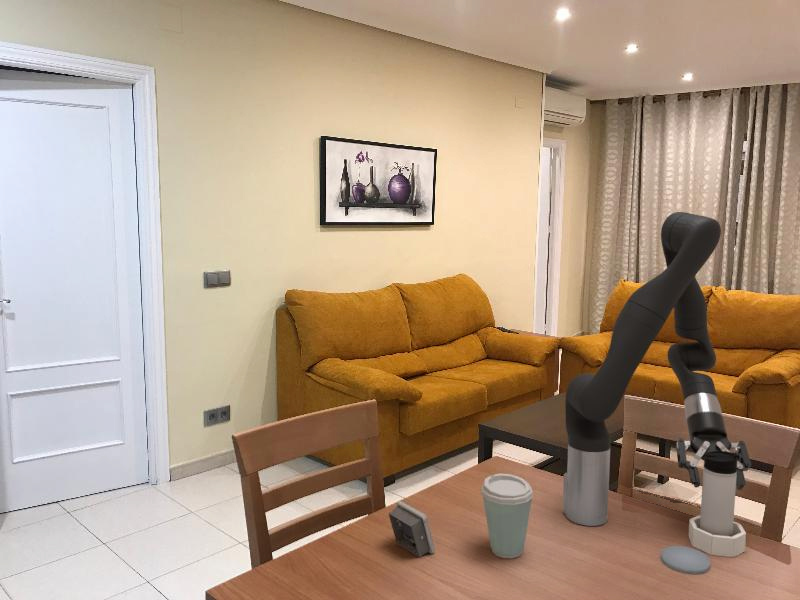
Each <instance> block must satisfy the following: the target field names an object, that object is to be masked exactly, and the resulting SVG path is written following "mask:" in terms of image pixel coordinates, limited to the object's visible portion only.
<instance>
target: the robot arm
mask: <svg viewBox="0 0 800 600" xmlns="http://www.w3.org/2000/svg"><path fill="white" fill-rule="evenodd" d="M721 228H722V227H721V224H720V223H719V222H718V220H716V219H715V218H712V217H708V216H705V215H701V214H695V213H691V212H685V211H676V212H673V213H671V214H669V215H668V216H667V217H666V218H665V220H664V221H663V224H662V225H661V230H660V241H661V247H662V252H663V255H664V260H665V264H666V265H665V266H666V268H665V269H664V270H663V271H662V272H660V273H659V274H658V275H657V276H655V277H653V278H652V279H650V280H649V281H647V282H645V284H643V285H642V286H640V287H638V288H637V289H636V290H634V292H632V293H631V295H630V296H629V298H628V299H627V300H626V302H625V304H624V306H623V307H622V308H621V311H620V312H619V314H618V315H617V318H616V319H615V323H614V325H613V329H612V332H611V338H610V344H609V348H608V351H607V353H606V354H607V355H606V357H605V359H604V361H603V362H602V364H601V365H600V367H599V369H598V370H597V372H596V373H595V375H594V374H592V373H587V372H586V373H580V374H577V375H576V376H574V377H573V378H572V379H571V380H570V382H569V383H568V385H567V387H566V391H565V428H566V432H567V433H566V434H567V437H568V438H567V439H568V441H567V465H566V466H567V468H566V469H567V470H566V472H565V473H564V474H563V484H562V485H563V489H562V490H563V491H562V513H563V514H565V516H566V517H567V520H569V521H571V522H572V523H575V524H578V525H583V526H587V527H596V526H602V525H604V524H606V523H607V522H608V509H609V508H608V507H609V492H610V491H609V490H610V489H609V487H610V486H609V485H610V462H611V459H610V458H611V435H610V433H609V430H608V428H607V425H606V420H608V419H609V418H610V417H612V415H613V414H614V413H615V411H616V409H618V406H619V404H620V403H621V401H622V399H623V396H624V394H625V392H626V390H627V388H628V385H630V384H629V383H630V381H631V379H632V378H633V375H634V374H635V372H636V370H637V369H638V367H639V365H640V363H642V360H643V359H644V357H645V355H646V353H647V352H648V350H649V349H650V347H651V345H652V344H653V343H654V341H655V339H656V338H657V336H658V335H659V333H660V332H661V330H662V329H663V327H664V325H665V323H666V321H667V320H668V318H669V316H670V314H671V313H672V311H673V317H674V318H673V319H674V321H673V322H674V332H675V334H676V335H677V336H678V337H679V338H682V339H685V340H692V341H690V342H689V341H688V342H675V343H673V344H671V345H670V347H669V348H668V350H667V356H666V358H667V362H668V364H669V366H670V368H671V370H672V371H673V373H674V374H675V376H676V378H677V380H678V382H679V385H680V389H681V392H682V396H683V403H684V413H685V415H684V417H685V420H686V424H687V425H686V426H687V428H688V429H687V430H688V434H689V439H690V440H685V439H683V438H682V437H678V440H677V441H676V444H675V447H676V457H677V459H676V460H677V465H678V467H679V468H680V469H683V468H684V469H686V470H687V471H688V475H689V480H690V481H689V482H690V484H691V485H693V487H694V488H700V485H701V480H700V474H699V469H698V467H697V465H698V464H699V462H700V461H704V457H705V454H706V453H708V452H712V451H726V452H731V451H730V450H731V449H732V450H733V451H734V452H733V453H737V454H738V455H739V456H740V459H737V467H736V468H737V476H736V489H737V490H739V491H742V490H743V488H744V487H745V486H746V479H745V474H744V472H747V471H749V470H750V468H751V467H752V461H751V459H750V456H749V453H748V450H747V446H746V442H744V440H739V441H738V442H730V440H729V439H728V433H727V429H726V425H725V421H724V416H723V412H722V407H721V405H720V402H719V400H718V396H717V391H716V388H715V382H714V380H713V378H712V377H711V376H710V375H708V374H705V373H702V372H705V371H709V370H712V369H713V368H714V366H715V365H716V362H717V355H716V352H715V349H714V347H713V344H712V342H711V339H710V336H709V335H710V334H709V331H708V309H707V307H708V306H707V300H706V297H705V294H704V292H703V291H702V287H701V286H700V284H699V282H698V280H697V277H696V276H697V274H698V273H700V271H701V269H702V268H703V266H704V265H705V264H706V263H707V261H708V260H709V259H710V257H711V256H712V255H713V253H714V252H715V250H716V248H717V246H718V245H719V242H720V239H721V234H722V231H721V230H722V229H721ZM700 372H701V373H700ZM688 448H690V449H691V451H692V452H693V453H694V454H695V455H694V456H693V458H692V459H691V461H690V460H688V459H687V452H686V451H687V450H688Z"/></svg>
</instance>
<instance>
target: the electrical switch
mask: <svg viewBox="0 0 800 600" xmlns="http://www.w3.org/2000/svg"><path fill="white" fill-rule="evenodd" d="M395 506H396V507H394V508H393V509H392V510H391V511H390V512H388V517H389V520H390V524H391V528H392V530H393V536H394V538H395V542H396V544H398V545H399V546H401V547H402V546H403V547H402V548H404V549H405V550H406V551H408V552H409V553H410V552H411V554H413V555H414V556H416V557H417V558H421V557H422V556H424V555H425V554H427V553H429V554H431V555H432V554H434V553H435V551H436V547H435V544H434V543H435V542H434V539H433V536H432V531H431V528H430V524H429V519H428V517H427V515H426V514H425V513H424V512H422V511H419V510H418V509H416V508H414V507H412V506H411V505H409V504H406V503H405V502H404V501H402V500H398V501H397V502H395Z"/></svg>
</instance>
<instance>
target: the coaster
mask: <svg viewBox="0 0 800 600" xmlns="http://www.w3.org/2000/svg"><path fill="white" fill-rule="evenodd" d="M660 556H661V557H660V558H661V562H662V563H663V564H664V565H665V566H666V567H668V568H669V569H672V570H674V571H676V572H680V573H683V574H689V575H701V574H705V573H707V572H709V571H710V569H711V560H710V557H708V556H707V554H705V553H703V552H702V551H701V550H699V549H698V550H697V549H695V548H692V547H688V546H683V545H670V546H666V547H664V548H663V549H662V550H661V552H660Z"/></svg>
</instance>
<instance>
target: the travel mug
mask: <svg viewBox="0 0 800 600" xmlns="http://www.w3.org/2000/svg"><path fill="white" fill-rule="evenodd" d="M739 459H740V456H739V455H738V454H737V453H735V452H731V451H730V452H726V451H712V452H708V453H706V454H705V457H704V460H703V466H702V468H703V471H702V482H701V483H702V484H701V503H700V514H699V515H700V529H701V530H703V531H706V532H708V533H710V534H712V535H720V536H730V537H732V536H733V521H734V522H735V520H734V519H735V502H736V492H737V491H736V489H737V487H736V476H737V468H736V467H737V460H739Z"/></svg>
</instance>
